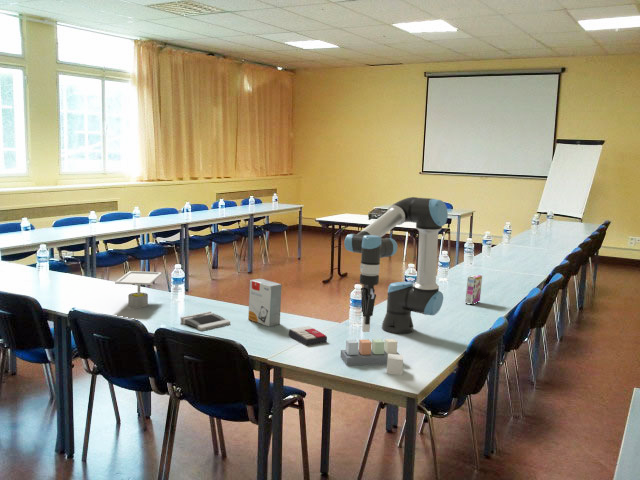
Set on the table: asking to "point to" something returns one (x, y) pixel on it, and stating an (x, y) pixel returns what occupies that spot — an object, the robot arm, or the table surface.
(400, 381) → the table surface
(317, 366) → the table surface
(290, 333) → the calculator
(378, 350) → the key green
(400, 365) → the pale grey cube
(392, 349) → the key ivory
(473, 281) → the candy bar box
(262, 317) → the hard drive box
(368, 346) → the key terracotta
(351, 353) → the key bluegrey
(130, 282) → the solar panel model
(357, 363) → the key panel
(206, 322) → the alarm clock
